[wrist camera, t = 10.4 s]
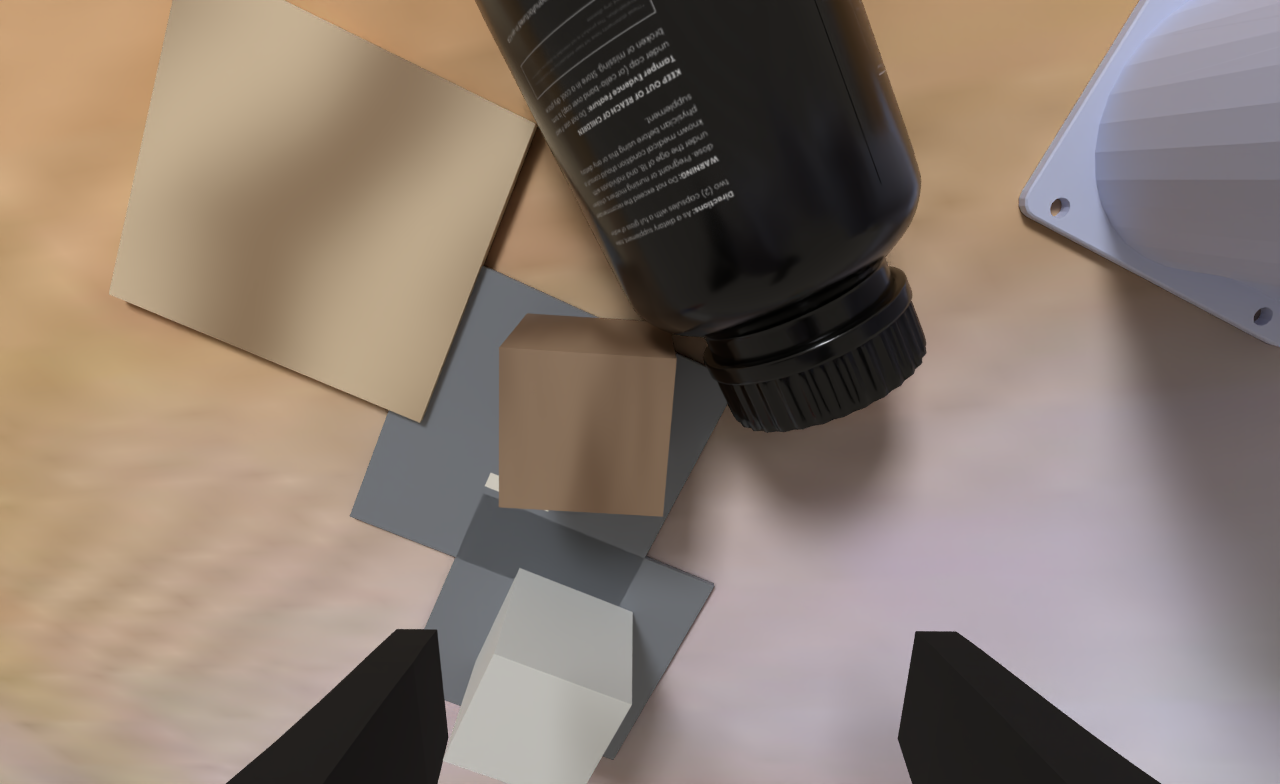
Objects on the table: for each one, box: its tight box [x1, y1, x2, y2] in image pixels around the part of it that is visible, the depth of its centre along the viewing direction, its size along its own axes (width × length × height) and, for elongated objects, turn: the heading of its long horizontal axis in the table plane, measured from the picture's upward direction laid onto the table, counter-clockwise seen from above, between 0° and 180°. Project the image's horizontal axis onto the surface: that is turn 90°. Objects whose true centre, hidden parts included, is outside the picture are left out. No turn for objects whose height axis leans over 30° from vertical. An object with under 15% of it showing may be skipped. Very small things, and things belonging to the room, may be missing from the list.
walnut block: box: [499, 313, 677, 517], centre depth 17 cm, size 4×4×4 cm
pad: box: [109, 0, 538, 423], centre depth 18 cm, size 9×9×1 cm
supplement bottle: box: [475, 0, 926, 433], centre depth 14 cm, size 7×7×12 cm
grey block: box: [443, 568, 633, 784], centre depth 20 cm, size 4×4×4 cm
